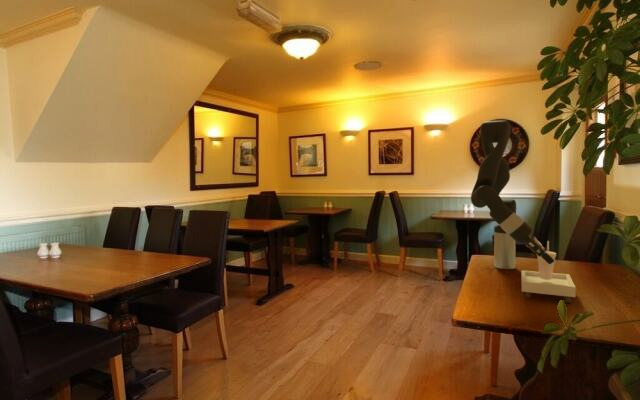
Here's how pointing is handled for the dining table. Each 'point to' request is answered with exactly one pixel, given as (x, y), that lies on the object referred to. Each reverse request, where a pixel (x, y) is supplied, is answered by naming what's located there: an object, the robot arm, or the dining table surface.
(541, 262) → the smoothie
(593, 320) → the dining table surface
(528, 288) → the cart
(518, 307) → the dining table surface
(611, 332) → the dining table surface
